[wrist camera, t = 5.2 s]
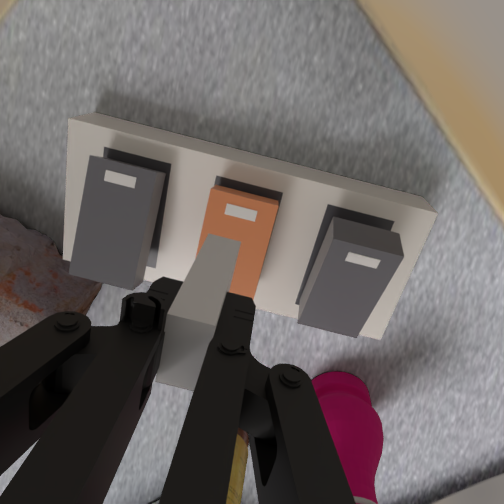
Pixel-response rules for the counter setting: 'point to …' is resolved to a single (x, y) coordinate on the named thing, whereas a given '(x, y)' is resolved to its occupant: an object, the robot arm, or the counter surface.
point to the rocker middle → (241, 231)
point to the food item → (35, 280)
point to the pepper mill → (352, 430)
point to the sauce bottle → (238, 468)
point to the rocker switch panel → (254, 182)
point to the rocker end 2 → (349, 276)
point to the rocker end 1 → (116, 222)
